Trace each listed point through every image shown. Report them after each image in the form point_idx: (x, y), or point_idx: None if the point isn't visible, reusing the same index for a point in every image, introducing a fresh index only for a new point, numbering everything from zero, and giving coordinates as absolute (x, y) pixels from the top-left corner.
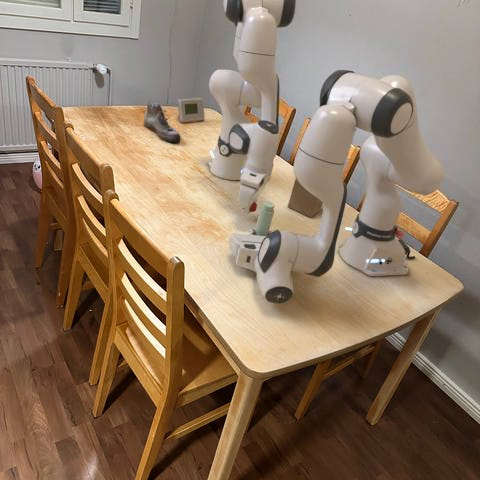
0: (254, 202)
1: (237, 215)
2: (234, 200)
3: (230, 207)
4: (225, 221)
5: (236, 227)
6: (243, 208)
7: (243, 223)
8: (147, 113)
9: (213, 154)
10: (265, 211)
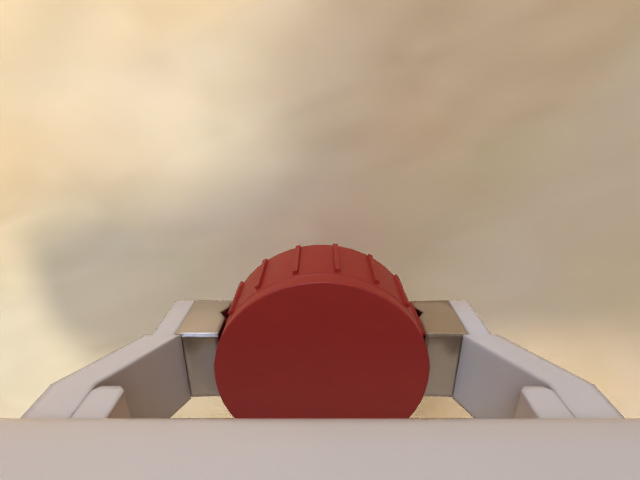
0: (401, 408)
1: (285, 178)
2: (637, 6)
3: (414, 35)
4: (67, 112)
5: (63, 248)
6: (247, 280)
7: (182, 277)
8: None
9: None
10: None
